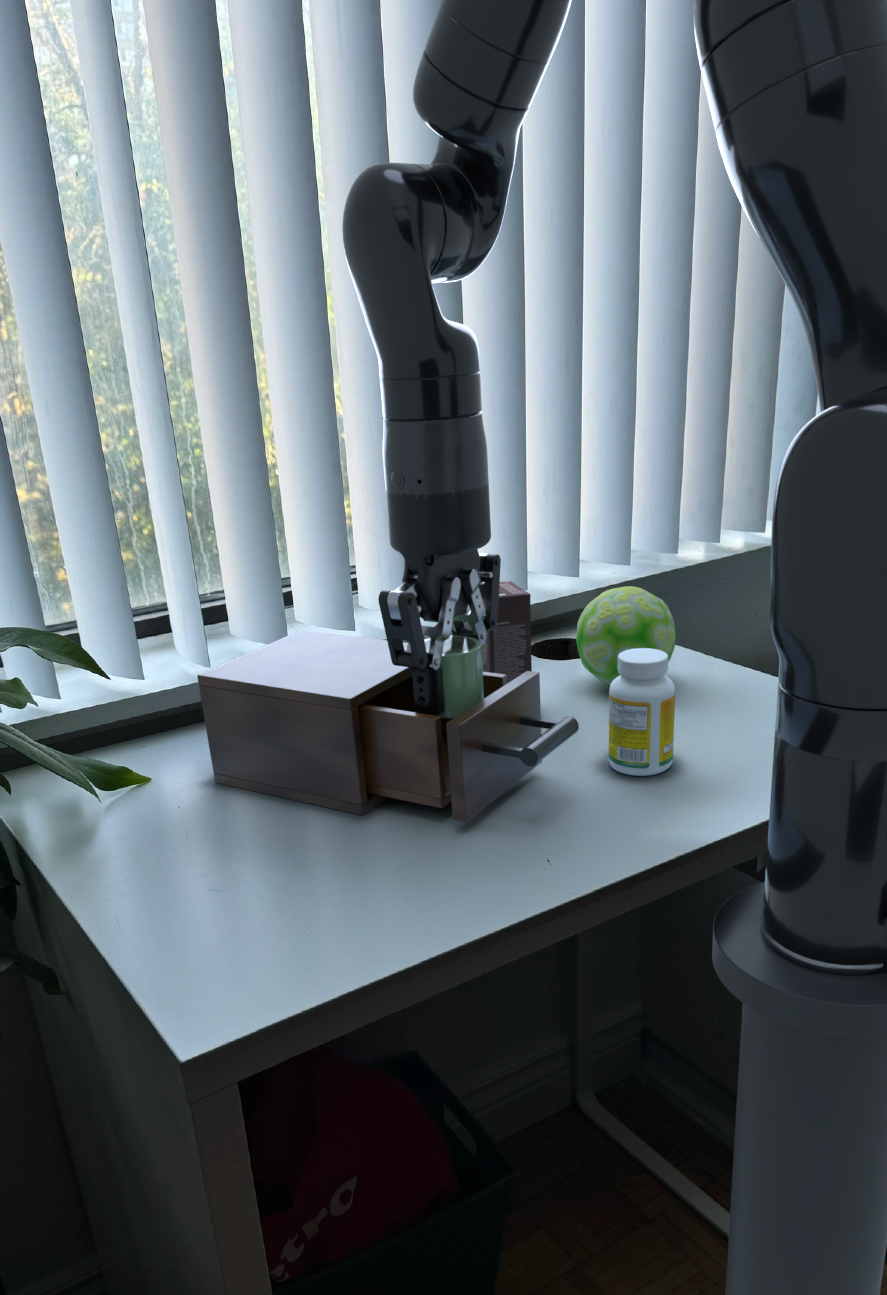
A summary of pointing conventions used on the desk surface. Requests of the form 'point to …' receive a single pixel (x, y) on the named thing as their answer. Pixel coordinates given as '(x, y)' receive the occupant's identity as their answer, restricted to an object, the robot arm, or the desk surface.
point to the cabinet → (297, 717)
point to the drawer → (457, 744)
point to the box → (509, 634)
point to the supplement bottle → (641, 713)
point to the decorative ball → (622, 629)
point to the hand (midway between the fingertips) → (450, 700)
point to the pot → (461, 674)
